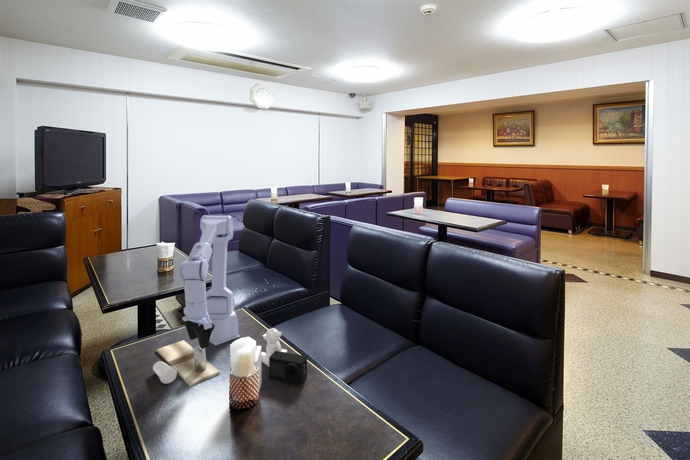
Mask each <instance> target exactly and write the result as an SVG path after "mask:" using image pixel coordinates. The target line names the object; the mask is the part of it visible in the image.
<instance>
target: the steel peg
mask: <svg viewBox="0 0 690 460" xmlns="http://www.w3.org/2000/svg"><path fill="white" fill-rule="evenodd" d="M193 349H194V361H195V371H196V372H202V371H204V370H206V360H207V357H206V356H207V355H206V348H203V349H201V348H200V345H196V346H193Z"/></svg>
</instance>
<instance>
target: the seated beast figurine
mask: <svg viewBox="0 0 690 460" xmlns="http://www.w3.org/2000/svg"><path fill="white" fill-rule="evenodd" d="M282 334H283V332H282V331H279V330H278V329H276V328H275V327H274V328H273V327H272V328H268V330H267V331H266V332H265V333H264V334H262V338H263V340H265V341H266V343H267V344H266V347H265V352H264V351H261V363H262V364H264V365H265V366H267V367H268V368H269V357H270V356H271V355H272V354H273V353H274V352H275V351H280V352H286V353H288V350H287V349H283V348H282V345H281V343H280V340H279V339H280V338H281V337H282Z"/></svg>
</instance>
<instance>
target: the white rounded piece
mask: <svg viewBox="0 0 690 460" xmlns="http://www.w3.org/2000/svg"><path fill="white" fill-rule="evenodd" d="M175 369H179V368H172V367H171V366H170V365H169V364H168V363H167V362H164V361H162V360H159V361H156V362H155V363H154V364H153V365H152V370H153V371H154V373H155V374H156V375H157V377H158V379H159V380H160V382H161V383H163V384H165V385H166V384H170V383H172V382H173V381H174V380H176V379H177V375H178V373H177V372H176V370H175Z"/></svg>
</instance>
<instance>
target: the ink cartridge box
mask: <svg viewBox="0 0 690 460" xmlns="http://www.w3.org/2000/svg"><path fill="white" fill-rule="evenodd" d="M244 338H245V339H247V338H246V337H245V336H244ZM255 346H256V362H255V361H254V365H255V367H256V369H257V366H258V367H259V394H258V397H256V398H255V399H254V400H253V401H258V400H259V395H260V391H261V387H262V384H263V383H262V382H263V381H262V380H263V378H262V377H263V376H262V373H263V372H262V361H261V352H262V345H255Z"/></svg>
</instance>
